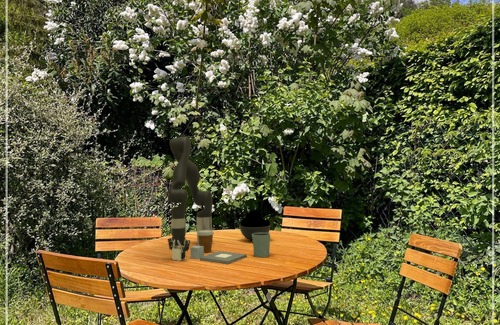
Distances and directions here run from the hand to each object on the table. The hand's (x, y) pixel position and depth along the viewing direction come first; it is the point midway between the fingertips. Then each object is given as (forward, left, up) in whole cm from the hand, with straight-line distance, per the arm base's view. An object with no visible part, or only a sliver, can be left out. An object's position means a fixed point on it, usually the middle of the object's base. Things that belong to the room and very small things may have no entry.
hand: (179, 258), depth 232 cm
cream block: (0, 0, 0) cm, 0 cm away
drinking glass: (-29, +34, -1) cm, 45 cm away
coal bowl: (-64, +9, -1) cm, 65 cm away
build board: (-13, +20, -1) cm, 24 cm away
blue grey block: (-8, +6, -1) cm, 10 cm away
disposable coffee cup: (-22, +1, -1) cm, 22 cm away
